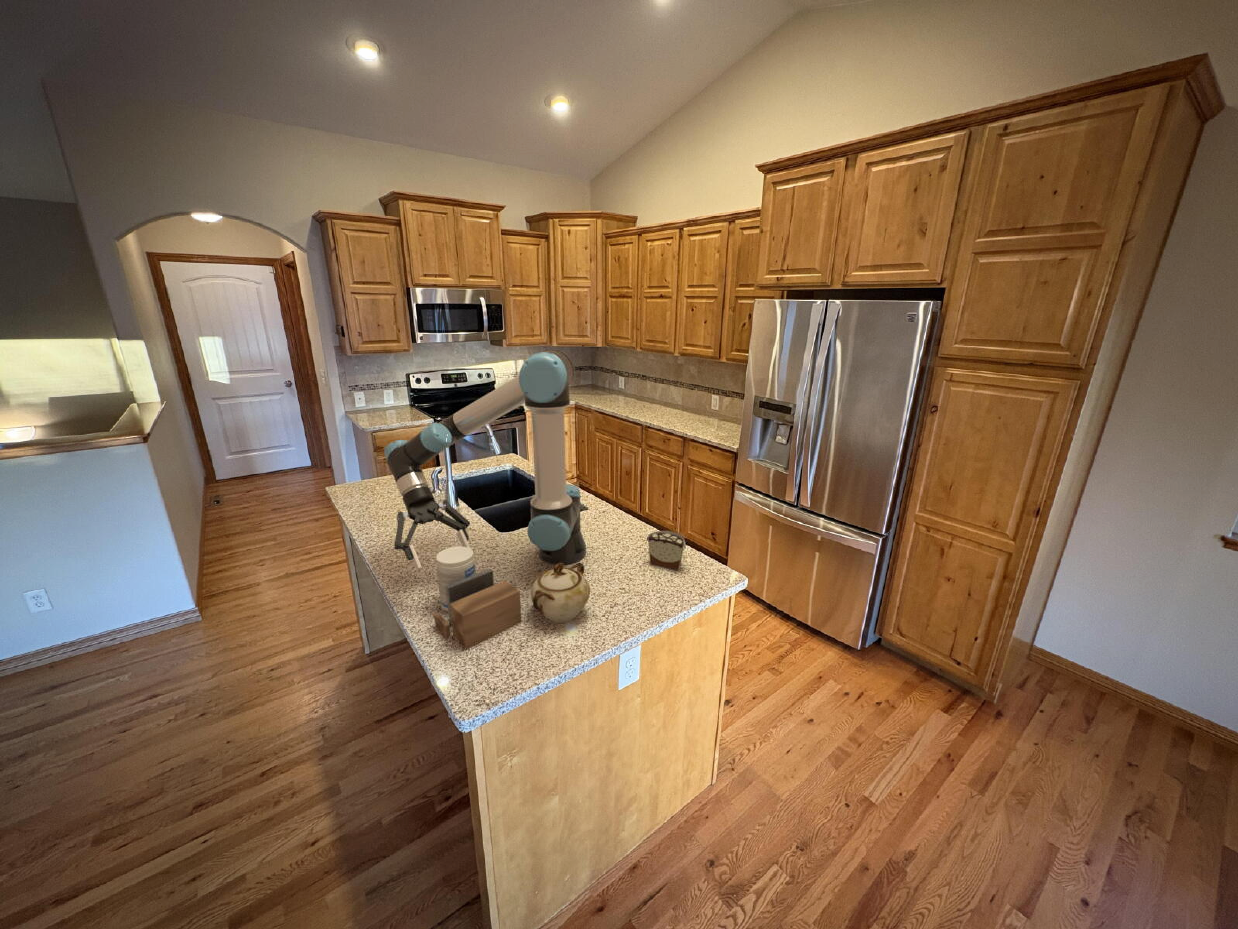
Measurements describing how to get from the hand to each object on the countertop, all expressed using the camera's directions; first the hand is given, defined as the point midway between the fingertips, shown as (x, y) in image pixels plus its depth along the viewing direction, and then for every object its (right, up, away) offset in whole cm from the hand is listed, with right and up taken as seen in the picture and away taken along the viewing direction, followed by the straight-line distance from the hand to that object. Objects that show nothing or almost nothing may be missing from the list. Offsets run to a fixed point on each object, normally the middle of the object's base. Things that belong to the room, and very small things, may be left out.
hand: (444, 560), depth 128 cm
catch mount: (+12, -14, -7) cm, 20 cm away
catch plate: (+9, -12, -4) cm, 15 cm away
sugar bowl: (+31, -13, -2) cm, 34 cm away
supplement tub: (+4, -12, +1) cm, 12 cm away
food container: (+61, -6, +23) cm, 66 cm away
